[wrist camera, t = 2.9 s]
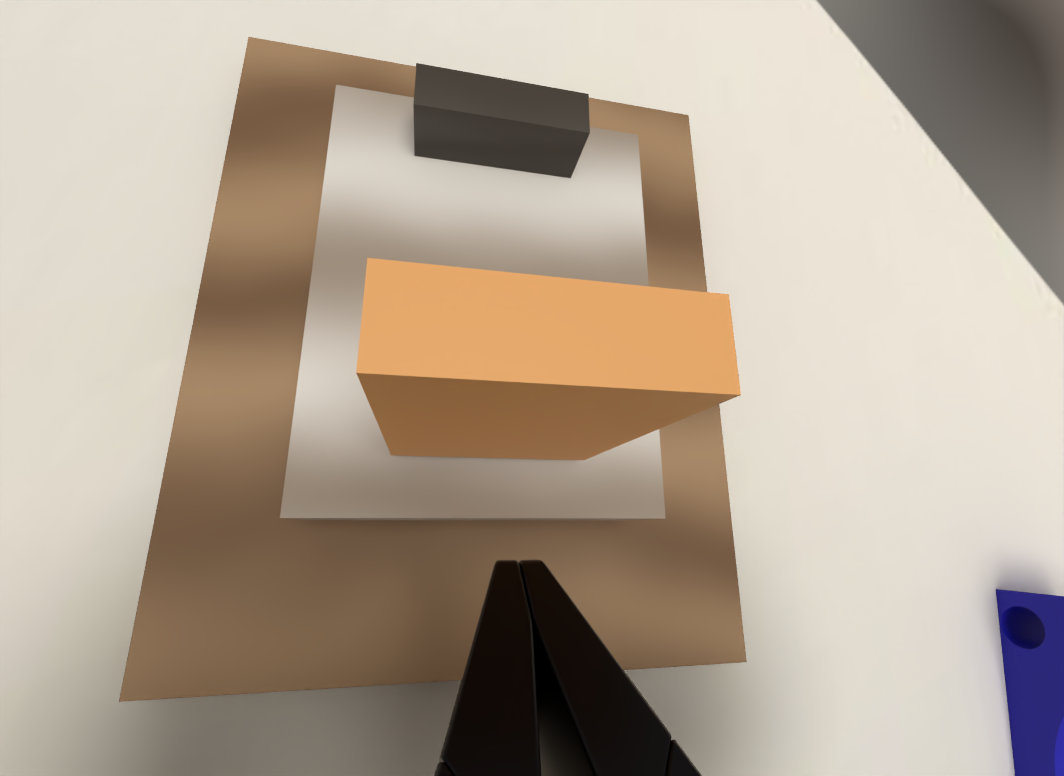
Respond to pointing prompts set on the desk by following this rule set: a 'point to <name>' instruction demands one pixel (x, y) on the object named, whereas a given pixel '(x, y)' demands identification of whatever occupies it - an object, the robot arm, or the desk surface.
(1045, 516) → the desk surface
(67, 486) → the desk surface
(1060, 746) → the cable clip
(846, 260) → the desk surface
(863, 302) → the desk surface
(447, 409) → the orange wedge plank
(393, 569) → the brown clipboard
